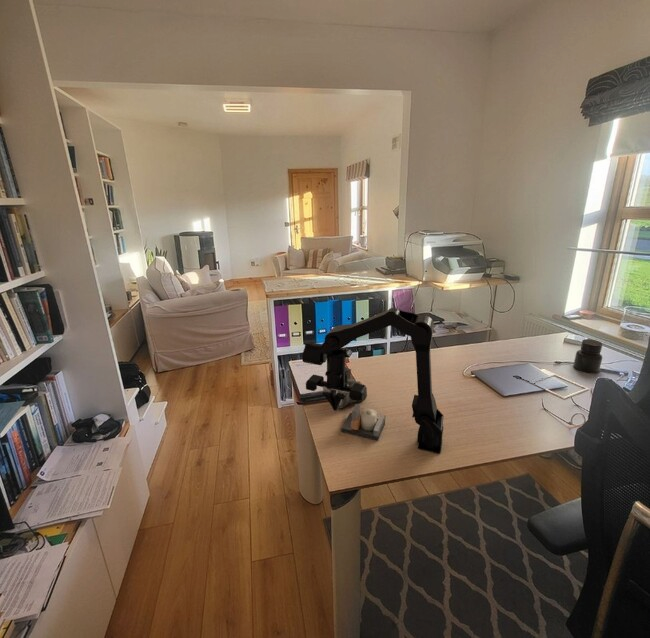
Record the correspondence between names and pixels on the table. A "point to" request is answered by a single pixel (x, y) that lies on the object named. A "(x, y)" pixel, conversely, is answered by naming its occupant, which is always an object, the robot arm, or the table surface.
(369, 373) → the table surface
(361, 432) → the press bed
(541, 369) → the photo frame
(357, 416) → the tan and grey slab
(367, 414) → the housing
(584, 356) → the ink bottle
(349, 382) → the pipe fitting
